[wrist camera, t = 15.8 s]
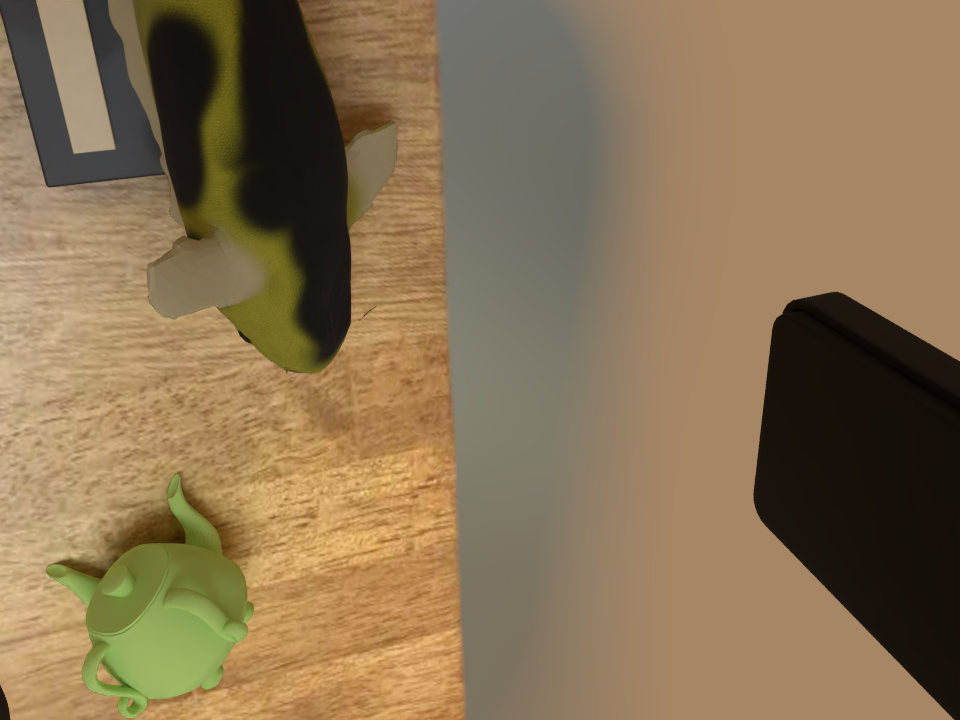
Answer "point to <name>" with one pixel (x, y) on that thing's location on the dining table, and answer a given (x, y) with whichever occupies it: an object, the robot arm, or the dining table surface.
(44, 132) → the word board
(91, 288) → the dining table surface
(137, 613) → the green kettle
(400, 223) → the dining table surface
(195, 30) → the fish
